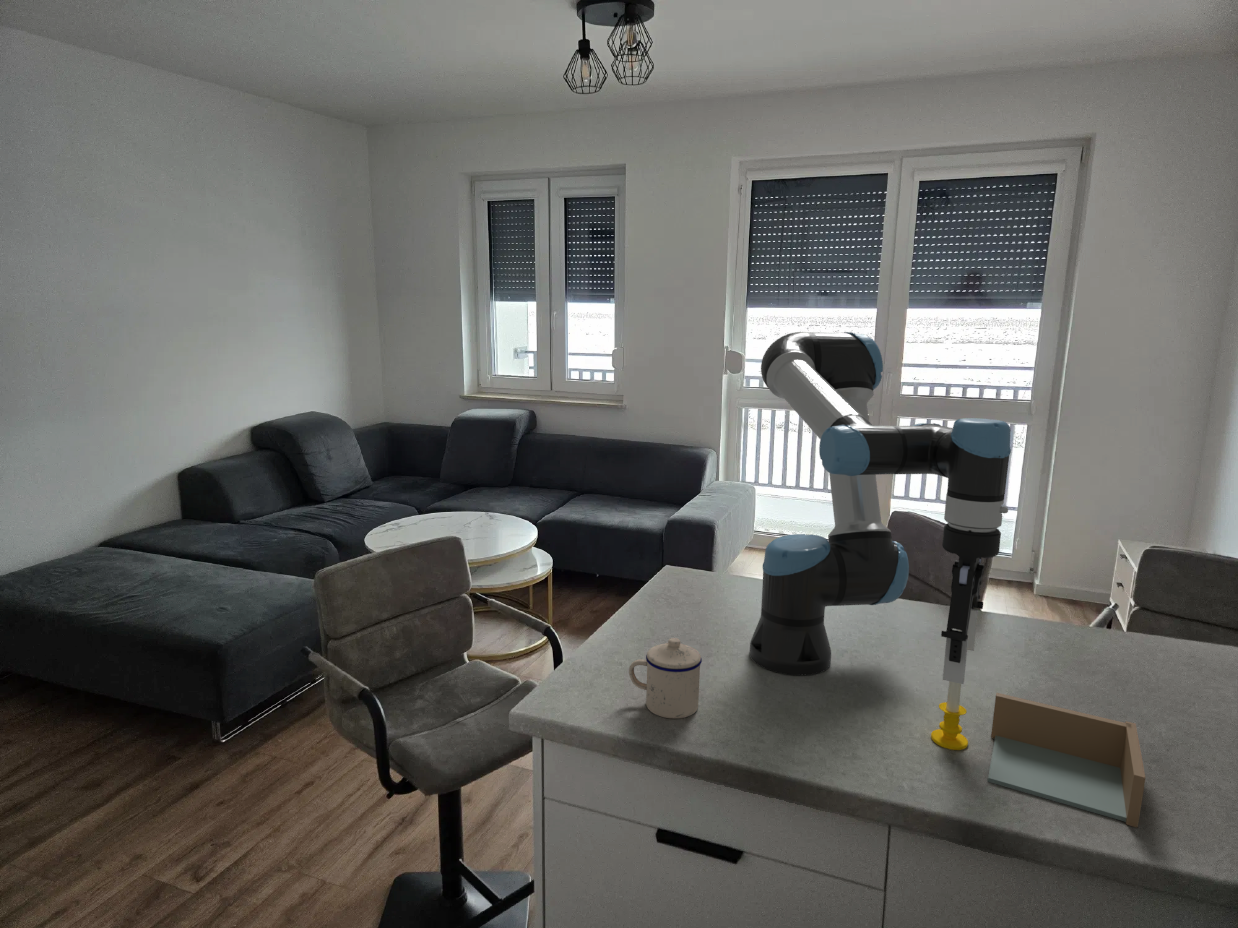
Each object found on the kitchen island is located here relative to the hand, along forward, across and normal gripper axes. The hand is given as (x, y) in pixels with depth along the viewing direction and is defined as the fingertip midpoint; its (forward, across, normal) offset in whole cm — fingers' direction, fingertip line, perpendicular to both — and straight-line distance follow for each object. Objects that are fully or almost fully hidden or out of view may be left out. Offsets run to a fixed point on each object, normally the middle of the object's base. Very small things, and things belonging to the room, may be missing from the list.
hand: (959, 663), depth 110 cm
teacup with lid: (+13, -14, +42) cm, 46 cm away
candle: (+13, 0, 0) cm, 13 cm away
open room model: (+13, -2, -14) cm, 19 cm away
